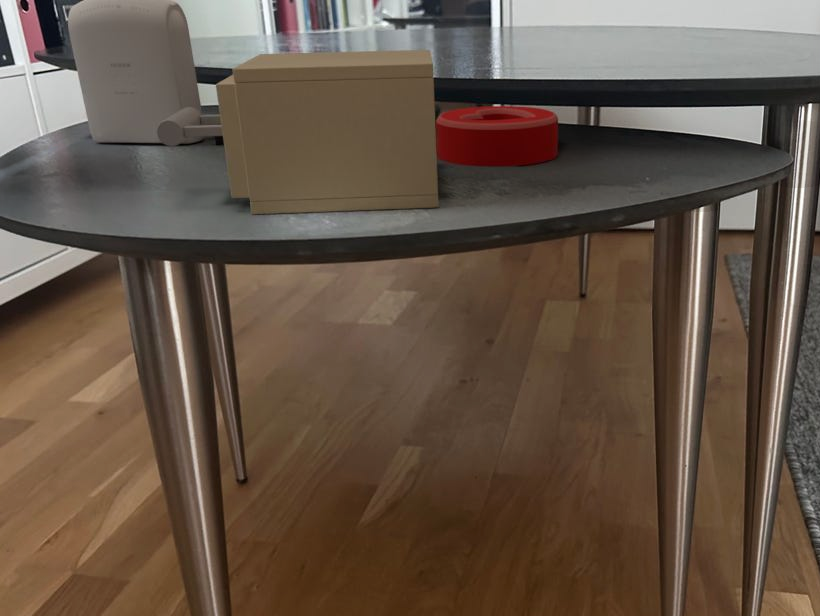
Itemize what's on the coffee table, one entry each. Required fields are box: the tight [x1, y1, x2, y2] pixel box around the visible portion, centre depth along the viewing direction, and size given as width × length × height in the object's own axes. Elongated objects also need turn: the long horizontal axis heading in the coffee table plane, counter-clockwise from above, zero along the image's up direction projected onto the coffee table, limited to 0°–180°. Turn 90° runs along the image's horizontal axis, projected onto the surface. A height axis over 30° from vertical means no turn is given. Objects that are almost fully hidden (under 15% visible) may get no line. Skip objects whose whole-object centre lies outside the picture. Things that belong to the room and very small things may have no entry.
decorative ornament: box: [435, 105, 559, 167], centre depth 68 cm, size 10×10×3 cm
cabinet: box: [232, 49, 440, 215], centre depth 55 cm, size 12×10×9 cm
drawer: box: [157, 74, 250, 199], centre depth 55 cm, size 15×8×7 cm, turn 94°
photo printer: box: [67, 0, 205, 145], centre depth 74 cm, size 10×4×12 cm, turn 78°
